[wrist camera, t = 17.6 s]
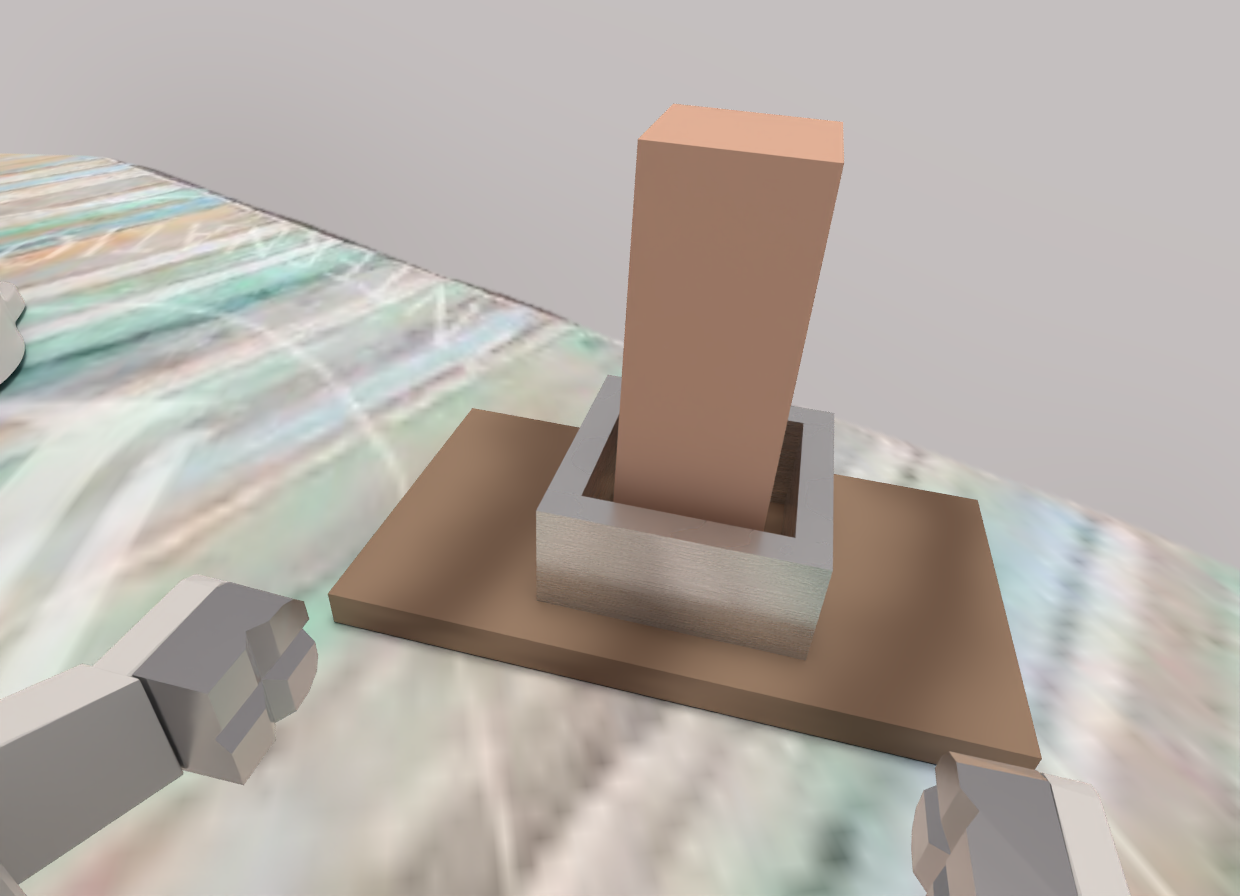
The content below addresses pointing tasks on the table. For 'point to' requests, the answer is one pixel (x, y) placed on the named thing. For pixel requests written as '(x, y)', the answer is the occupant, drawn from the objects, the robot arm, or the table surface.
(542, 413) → the table surface
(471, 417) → the holder base
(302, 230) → the table surface
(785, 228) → the tall rectangular block
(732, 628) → the square metal frame
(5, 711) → the robot arm
